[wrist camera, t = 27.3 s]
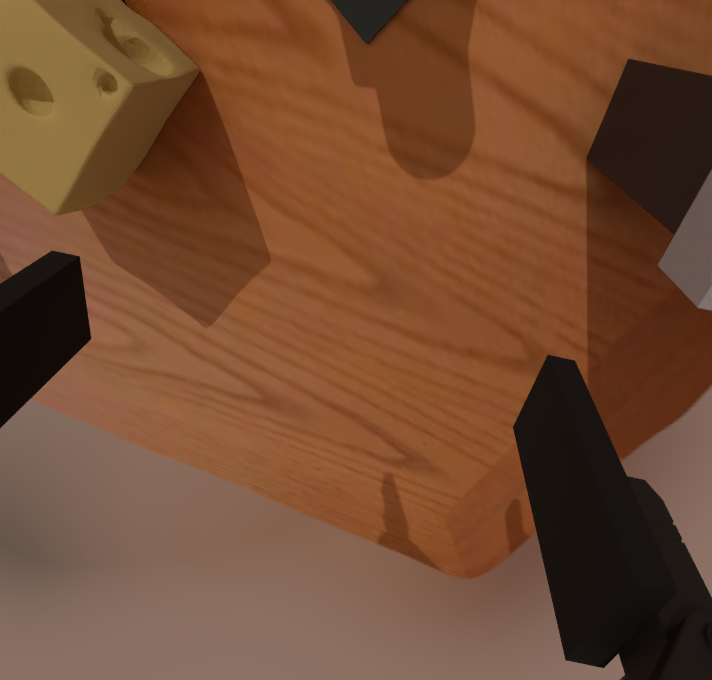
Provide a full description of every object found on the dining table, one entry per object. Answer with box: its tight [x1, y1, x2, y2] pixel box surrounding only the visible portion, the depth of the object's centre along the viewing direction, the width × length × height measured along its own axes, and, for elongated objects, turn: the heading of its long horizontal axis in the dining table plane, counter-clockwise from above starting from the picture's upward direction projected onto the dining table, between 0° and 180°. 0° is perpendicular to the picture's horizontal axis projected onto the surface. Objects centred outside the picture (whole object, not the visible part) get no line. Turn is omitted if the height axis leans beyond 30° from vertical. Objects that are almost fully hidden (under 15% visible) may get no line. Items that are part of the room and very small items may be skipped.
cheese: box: [0, 0, 200, 215], centre depth 30 cm, size 10×11×10 cm
